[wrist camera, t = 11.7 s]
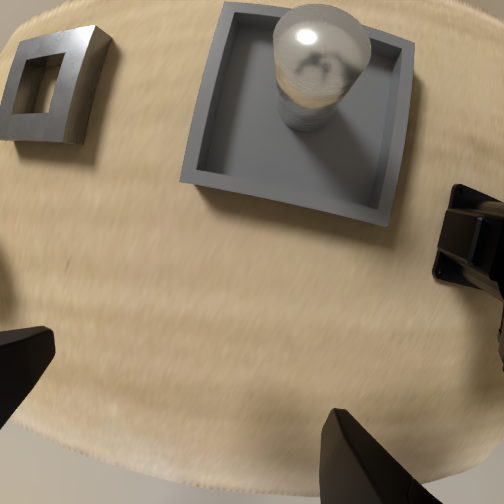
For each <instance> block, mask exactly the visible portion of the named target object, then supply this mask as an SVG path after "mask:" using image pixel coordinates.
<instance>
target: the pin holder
mask: <svg viewBox="0 0 504 504" xmlns="http://www.w3.org/2000/svg"><path fill="white" fill-rule="evenodd" d="M111 38H112V37H110V36H109V35H108V34H106V33H105V32H104V31H102V30H101V29H100V28H98V27H97V26H96V25H93V26H87V27H81V28H75V29H70V30H65V31H60V32H56V33H51V34H47V35H43V36H39V37H35V38H31V39H28V40H24V41H21V42H20V43H19V45H18V48H17V51H16V54H15V57H14V60H13V63H12V66H11V69H10V72H9V75H8V79H7V82H6V86H5V89H4V93H3V97H2V101H1V105H0V140H5V141H24V142H47V143H64V144H78V145H83V142H84V137H85V132H86V127H87V123H88V118H89V114H90V109H91V105H92V101H93V97H94V93H95V90H96V86H97V82H98V79H99V75H100V72H101V69H102V65H103V62H104V59H105V56H106V53H107V50H108V47H109V44H110V41H111ZM61 64H62V65H61ZM54 65H61V68H60V71H59V75H58V78H57V82H56V85H55V89H54V92H53V96H52V100H51V104H50V108H49V113H32V112H33V108H34V104H35V100H36V96H37V92H38V88H39V85H40V81H41V78H42V74H43V71H44V68H45V67H47V66H54Z"/></svg>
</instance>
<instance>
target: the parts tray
mask: <svg viewBox="0 0 504 504" xmlns="http://www.w3.org/2000/svg"><path fill="white" fill-rule="evenodd" d="M290 10H292V9H289V8H283V7H276V6H269V5H260V4H251V3H239V2H224V5H223V8H222V11H221V14H220V17H219V20H218V24H217V27H216V30H215V34H214V37H213V41H212V44H211V48H210V51H209V55H208V58H207V62H206V66H205V69H204V73H203V77H202V81H201V85H200V89H199V93H198V97H197V101H196V105H195V110H194V114H193V118H192V123H191V127H190V132H189V136H188V141H187V146H186V151H185V156H184V161H183V166H182V171H181V176H180V182H183V183H189V184H195V185H200V186H205V187H211V188H216V189H221V190H227V191H232V192H237V193H242V194H247V195H252V196H256V197H261V198H266V199H271V200H275V201H280V202H284V203H289V204H293V205H298V206H302V207H307V208H311V209H315V210H320V211H324V212H328V213H332V214H336V215H340V216H344V217H348V218H352V219H356V220H360V221H364V222H368V223H372V224H376V225H380V226H383V227H388V223H389V219H390V215H391V211H392V206H393V202H394V197H395V192H396V188H397V183H398V177H399V172H400V167H401V161H402V156H403V150H404V144H405V137H406V130H407V123H408V116H409V108H410V99H411V90H412V79H413V67H414V51H415V43H413V42H411V41H408V40H406V39H403V38H400V37H397V36H395V35H392V34H389V33H386V32H383V31H380V30H377V29H374V28H371V27H367V26H364V25H362V26H363V27H364V29H365V30H366V32H367V34H368V36H369V39H370V43H371V57H370V60H369V63H368V65H367V67H366V68H365V70H364V71H363V72H362V74H361V75H360V77H359V78H358V79H357V81H356V82H355V84H354V85H353V86H352V88H351V89H350V91H349V92H348V93H347V95H346V96H345V98H344V99H343V101H342V102H341V103H340V105H339V106H338V108H337V109H336V110H335V112H334V113H333V115H332V116H331V118H330V119H329V120H328V122H327V123H326V124H325V125H324V126H323V127H322V128H320V129H318V130H316V131H313V132H300V131H296V130H294V129H292V128H290V127H289V126H287V125H286V124H285V123H284V122H283V120H282V119H281V117H280V115H279V112H278V104H277V88H276V73H275V59H274V46H273V34H274V29H275V26H276V25H277V23H278V21H279V20H280V18H281V17H282V16H283V15H284V14H286V13H287V12H288V11H290Z"/></svg>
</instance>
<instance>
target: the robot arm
mask: <svg viewBox="0 0 504 504" xmlns="http://www.w3.org/2000/svg"><path fill="white" fill-rule="evenodd" d="M458 188H459V189H460V194H458V193H457V190H458ZM440 268H441V272H440V273H439V274H438V270H439V269H440ZM432 274H433V276H434V277H436V278H437V279H440V280H444V281H449V282H453V283H457V284H461V285H465V286H469V287H473V288H477V289H481V290H484V291H486V292H487V293H489V294H491V295H492V296H494V297H496V298H497V299H499V300H501V301H502V302H504V203H503V202H501V201H499V200H497V199H495V198H492V197H490V196H488V195H486V194H483V193H481V192H479V191H477V190H474V189H472V188H469V187H467V186H465V185H462V184H455V185H454V186H453V187H452V191H451V196H450V201H449V206H448V210H447V211H446V213H445V217H444V221H443V226H442V230H441V234H440V238H439V242H438V251H437V255H436V258H435V262H434V265H433V269H432ZM497 339H498V341H499V343H500V344H499V354H500V357H501V360H502V362H503V368H502V369H503V371H504V306H503V314H502V321H501V327H500V329H499V331H498V336H497ZM54 356H55V341H54V333H53V331H52V330H51V329H49V328H47V327H45V326H37V327H30V328H23V329H16V330H9V331H1V332H0V430H1V428H2V427H3V426H4V424H5V423H6V422H7V420H8V419H9V418H10V417H11V415H12V414H13V413H14V411H15V410H16V409H17V408H18V406H19V405H20V404H21V403H22V401H23V400H24V399H25V398H26V396H27V395H28V394H29V393H30V392H31V390H32V389H33V388H34V386H35V385H36V383H37V382H38V380H39V379H40V377H41V376H42V374H43V373H44V371H45V370H46V368H47V367H48V365H49V364H50V362H51V361H52V359H53V358H54ZM319 483H320V499H321V504H443V503H442V502H440V501H439V500H438V499H436V498H435V497H434V496H433V495H432V494H430V493H429V492H428V491H427V490H426V489H425V488H424V487H423V486H422V485H421V484H420V483H419V482H418V481H417V480H416V479H413V477H412V476H411V475H410V474H409V473H408V472H407V471H406V470H405V469H404V468H403V467H402V466H401V465H400V464H399V463H398V462H397V461H396V460H395V459H394V458H393V457H392V456H391V455H390V454H389V453H388V452H387V451H386V450H385V449H384V448H383V447H382V446H381V445H380V444H379V443H378V442H377V441H376V440H375V439H374V438H373V437H372V436H371V435H370V434H369V433H368V432H367V431H366V430H365V429H364V428H363V427H362V425H361V424H360V423H359V422H358V421H357V420H356V419H355V418H354V417H353V416H352V415H351V414H350V413H349V412H348V411H347V410H345V409H338V408H334V409H332V410H331V411H330V413H329V416H328V418H327V420H326V422H325V424H324V426H323V429H322V433H321V452H320V468H319Z"/></svg>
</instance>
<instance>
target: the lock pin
mask: <svg viewBox="0 0 504 504" xmlns="http://www.w3.org/2000/svg"><path fill="white" fill-rule="evenodd" d="M273 46H274V59H275V73H276V88H277V104H278V112H279V115H280V117H281V119H282V120H283V122H284V123H285V124H286V125H287V126H289V127H290V128H292V129H294V130H296V131H300V132H313V131H316V130H318V129H320V128H322V127H323V126H324V125H325V124H326V123H327V122H328V120H329V119H330V118H331V116H332V115H333V113H334V112H335V110H336V109H337V108H338V106H339V105H340V103H341V102H342V101H343V99H344V98H345V96H346V95H347V93H348V92H349V91H350V89H351V88H352V86H353V85H354V84H355V82H356V81H357V79H358V78H359V77H360V75H361V74H362V72H363V71H364V70H365V68H366V67H367V65H368V63H369V60H370V57H371V43H370V39H369V36H368V34H367V32H366V30H365V29H364V27H363V26H362V25H361V24H360V23H359V22H358V21H357V20H356V19H355V18H354V17H353V16H351V15H350V14H348V13H347V12H345V11H343V10H341V9H339V8H336V7H333V6H329V5H324V4H308V5H303V6H299V7H296V8H294V9H292V10H290V11H288V12H287V13H286V14H284V15H283V16H282V17H281V18H280V20H279V21H278V23H277V25H276V26H275V29H274V34H273Z"/></svg>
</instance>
